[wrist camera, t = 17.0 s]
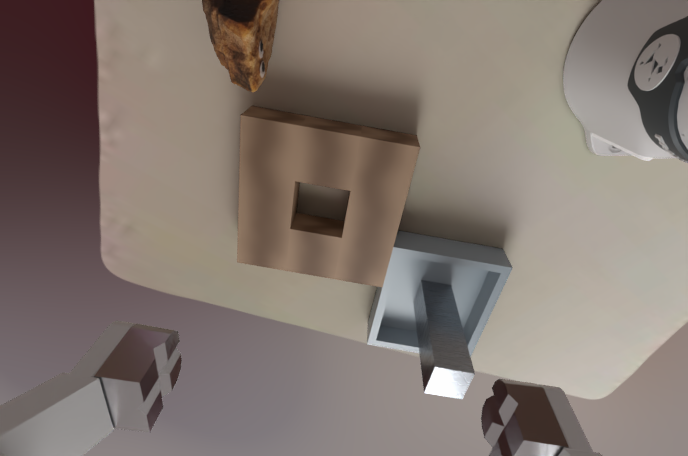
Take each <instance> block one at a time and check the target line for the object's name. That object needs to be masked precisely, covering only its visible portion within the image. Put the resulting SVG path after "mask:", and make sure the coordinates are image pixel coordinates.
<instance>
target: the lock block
mask: <svg viewBox="0 0 688 456" xmlns="http://www.w3.org/2000/svg"><path fill="white" fill-rule="evenodd" d="M419 150H420V145H419V142H418V139H417V135H411V134H406V133H400V132H394V131H389V130H383V129H378V128H372V127H367V126H361V125H356V124H350V123H344V122H339V121H333V120H328V119H322V118H317V117H311V116H306V115H300V114H294V113H289V112H283V111H278V110H272V109H267V108H261V107H256V106H251V107H250V108H249V109H248V110H246V111H245V112H244V113H243V114H241V123H240V165H239V207H238V249H237V262H239V263H244V264H250V265H256V266H262V267H268V268H273V269H279V270H285V271H291V272H296V273H302V274H308V275H314V276H320V277H325V278H331V279H337V280H343V281H349V282H354V283H360V284H366V285H372V286H377V287H383V284H384V280H385V276H386V273H387V269H388V265H389V261H390V258H391V254H392V250H393V247H394V243H395V239H396V235H397V232H398V228H399V224H400V220H401V217H402V213H403V209H404V206H405V202H406V198H407V194H408V191H409V187H410V183H411V180H412V176H413V172H414V168H415V165H416V161H417V157H418V154H419ZM300 182H302V183H308V184H314V185H319V186H325V187H331V188H336V189H342V190H348V191H350V193H349V199H348V204H347V210H346V215H345V220H344V221H341V220H335V219H329V218H324V217H318V216H312V215H307V214H301V213H296V212H297V203H298V194H299V185H300Z"/></svg>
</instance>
